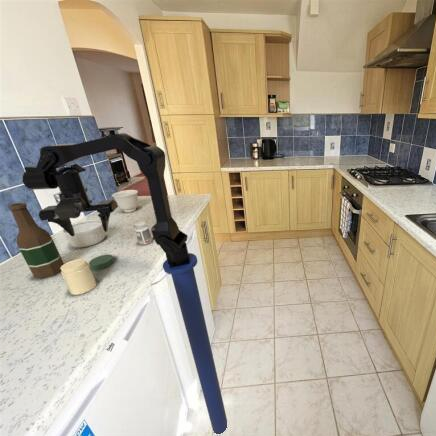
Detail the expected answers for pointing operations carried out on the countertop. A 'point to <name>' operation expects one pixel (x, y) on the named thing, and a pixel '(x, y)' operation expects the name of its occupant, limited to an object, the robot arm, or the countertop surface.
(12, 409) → the countertop surface
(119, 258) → the countertop surface
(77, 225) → the ramekin
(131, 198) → the teacup
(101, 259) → the jar lid
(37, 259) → the beer bottle
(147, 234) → the pill bottle
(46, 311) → the countertop surface
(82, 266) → the jam jar
